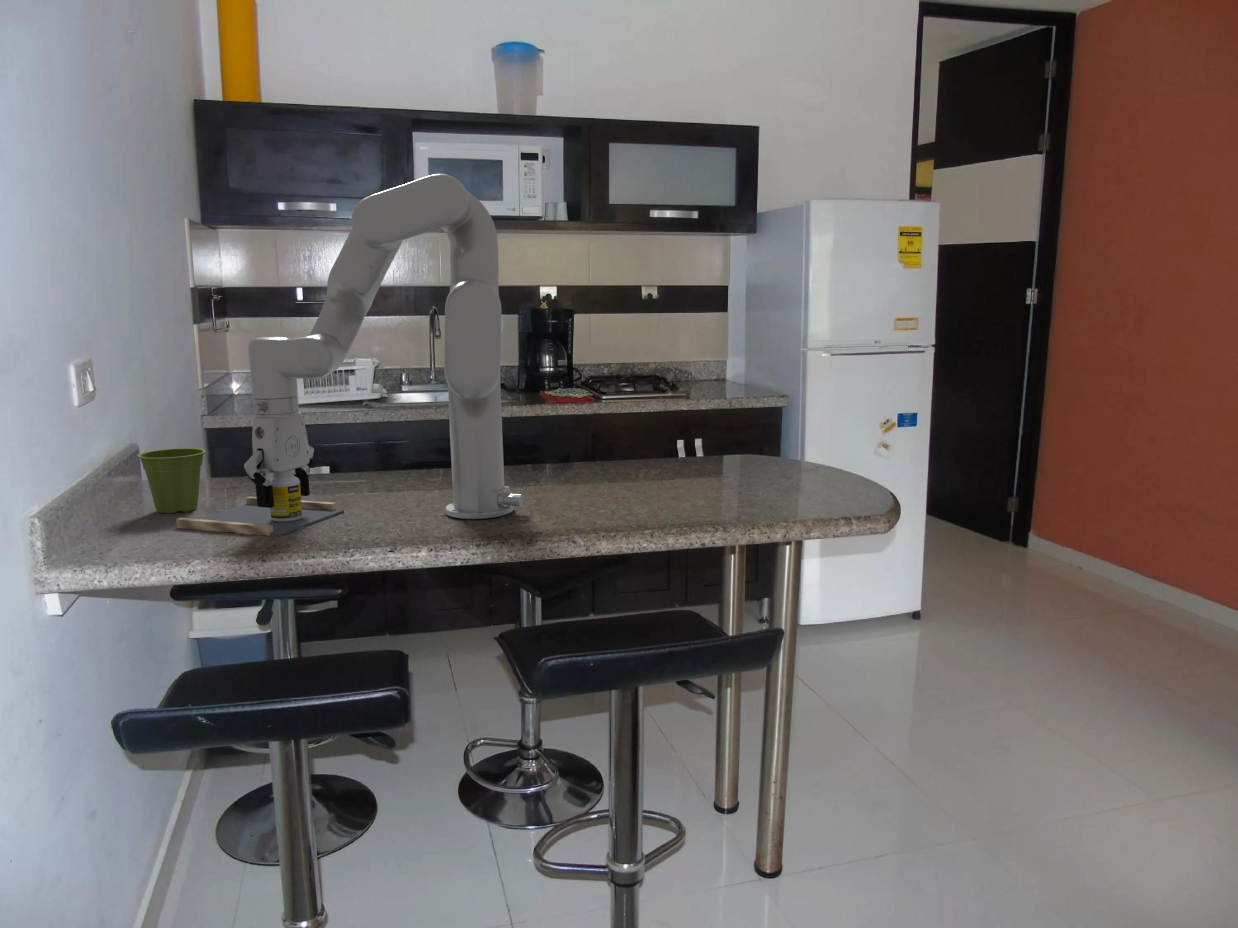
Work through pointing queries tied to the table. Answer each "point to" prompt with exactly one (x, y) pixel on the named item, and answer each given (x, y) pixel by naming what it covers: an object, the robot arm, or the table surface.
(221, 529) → the strip left
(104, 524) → the table surface
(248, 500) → the strip right
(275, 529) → the mat
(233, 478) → the table surface
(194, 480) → the plant pot
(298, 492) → the supplement bottle
